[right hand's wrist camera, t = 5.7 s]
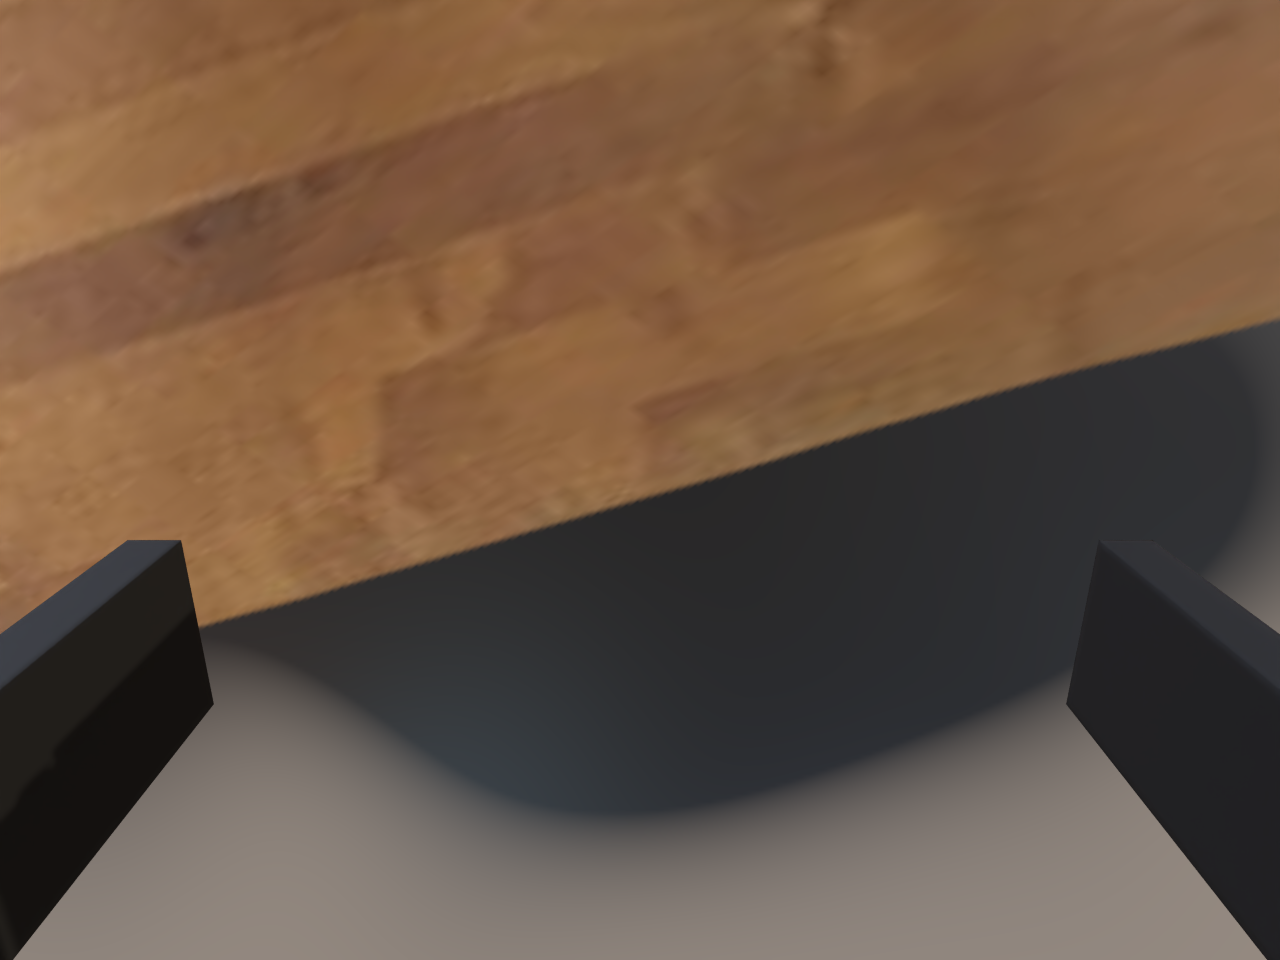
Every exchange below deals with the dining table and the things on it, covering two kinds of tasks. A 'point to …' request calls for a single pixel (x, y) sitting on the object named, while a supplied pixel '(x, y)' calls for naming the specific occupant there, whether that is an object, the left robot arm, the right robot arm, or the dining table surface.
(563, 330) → the dining table surface
